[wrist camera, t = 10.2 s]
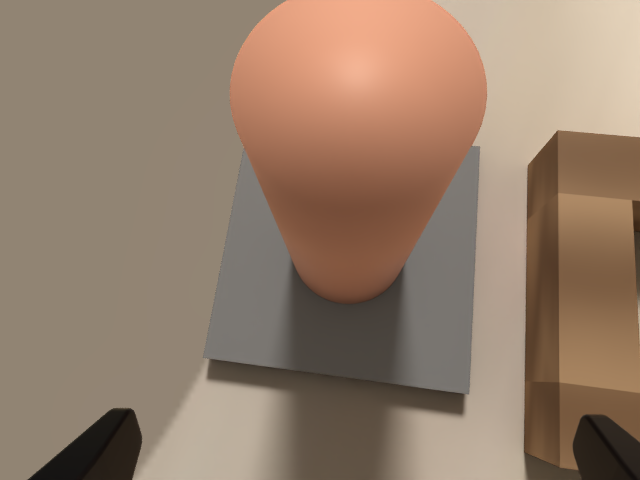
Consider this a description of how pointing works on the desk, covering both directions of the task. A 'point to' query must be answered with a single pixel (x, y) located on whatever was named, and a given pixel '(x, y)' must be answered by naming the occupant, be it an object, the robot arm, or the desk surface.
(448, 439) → the desk surface
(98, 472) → the robot arm
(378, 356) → the rubber mat
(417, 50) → the terracotta peg
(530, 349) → the walnut pocket block
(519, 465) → the desk surface
